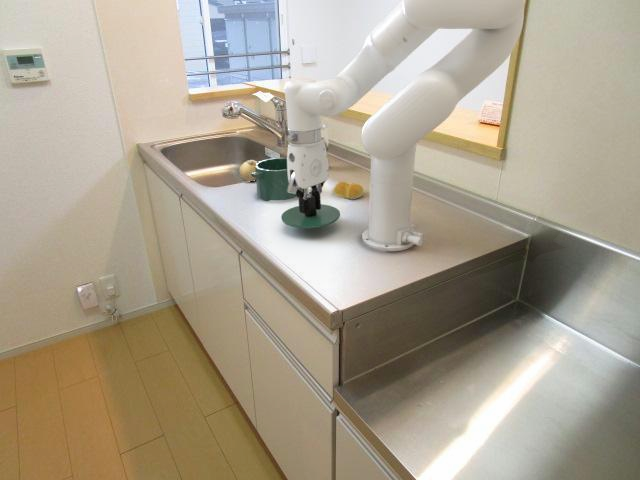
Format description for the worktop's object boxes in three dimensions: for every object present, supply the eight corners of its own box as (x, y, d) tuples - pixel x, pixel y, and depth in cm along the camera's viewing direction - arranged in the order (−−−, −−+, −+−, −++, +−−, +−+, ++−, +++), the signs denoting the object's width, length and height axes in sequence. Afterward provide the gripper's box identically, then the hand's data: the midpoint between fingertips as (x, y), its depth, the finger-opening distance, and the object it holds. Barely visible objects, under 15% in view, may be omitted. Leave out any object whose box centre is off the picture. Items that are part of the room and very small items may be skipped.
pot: (317, 190, 140) (316, 160, 136) (272, 208, 128) (269, 176, 124) (286, 181, 149) (285, 153, 145) (241, 197, 136) (238, 167, 132)
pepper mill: (332, 167, 162) (332, 125, 155) (322, 172, 157) (321, 129, 150) (316, 165, 165) (315, 123, 159) (306, 170, 160) (304, 127, 154)
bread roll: (360, 201, 131) (360, 188, 130) (330, 198, 134) (330, 186, 132) (365, 191, 138) (366, 179, 137) (337, 189, 141) (337, 177, 139)
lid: (352, 215, 112) (351, 192, 110) (312, 235, 103) (310, 210, 100) (309, 204, 121) (308, 182, 119) (269, 221, 112) (266, 198, 109)
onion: (235, 180, 152) (233, 159, 149) (253, 174, 157) (251, 154, 154) (250, 184, 147) (248, 163, 144) (268, 178, 152) (267, 158, 149)
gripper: (291, 146, 96) (298, 225, 104) (340, 131, 106) (343, 203, 114) (267, 142, 100) (275, 218, 108) (317, 128, 111) (321, 198, 119)
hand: (310, 210), depth 111 cm, fingers closed on lid, 3 cm apart
